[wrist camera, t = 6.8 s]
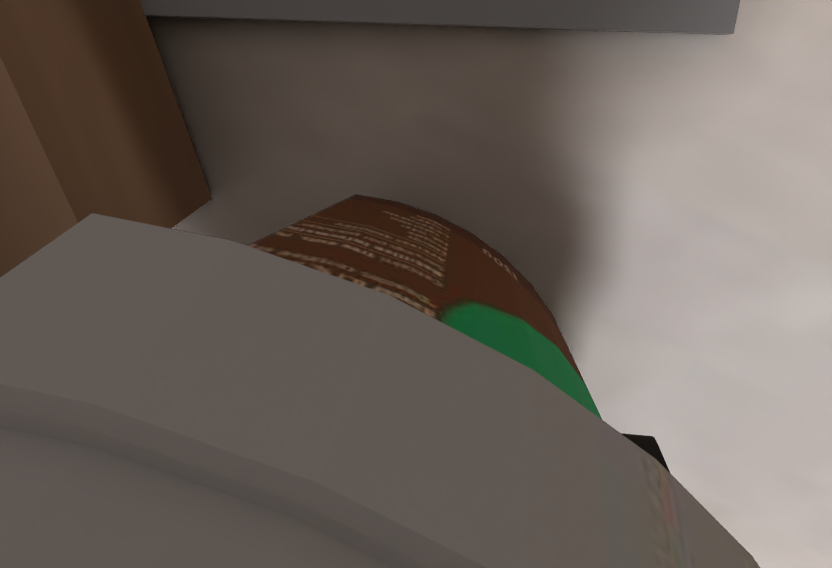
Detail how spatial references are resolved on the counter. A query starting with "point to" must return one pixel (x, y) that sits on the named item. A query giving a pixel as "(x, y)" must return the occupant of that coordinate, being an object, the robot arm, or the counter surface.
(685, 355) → the counter surface
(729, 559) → the food container
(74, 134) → the walnut cube
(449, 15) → the mat
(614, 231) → the counter surface
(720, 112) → the counter surface
